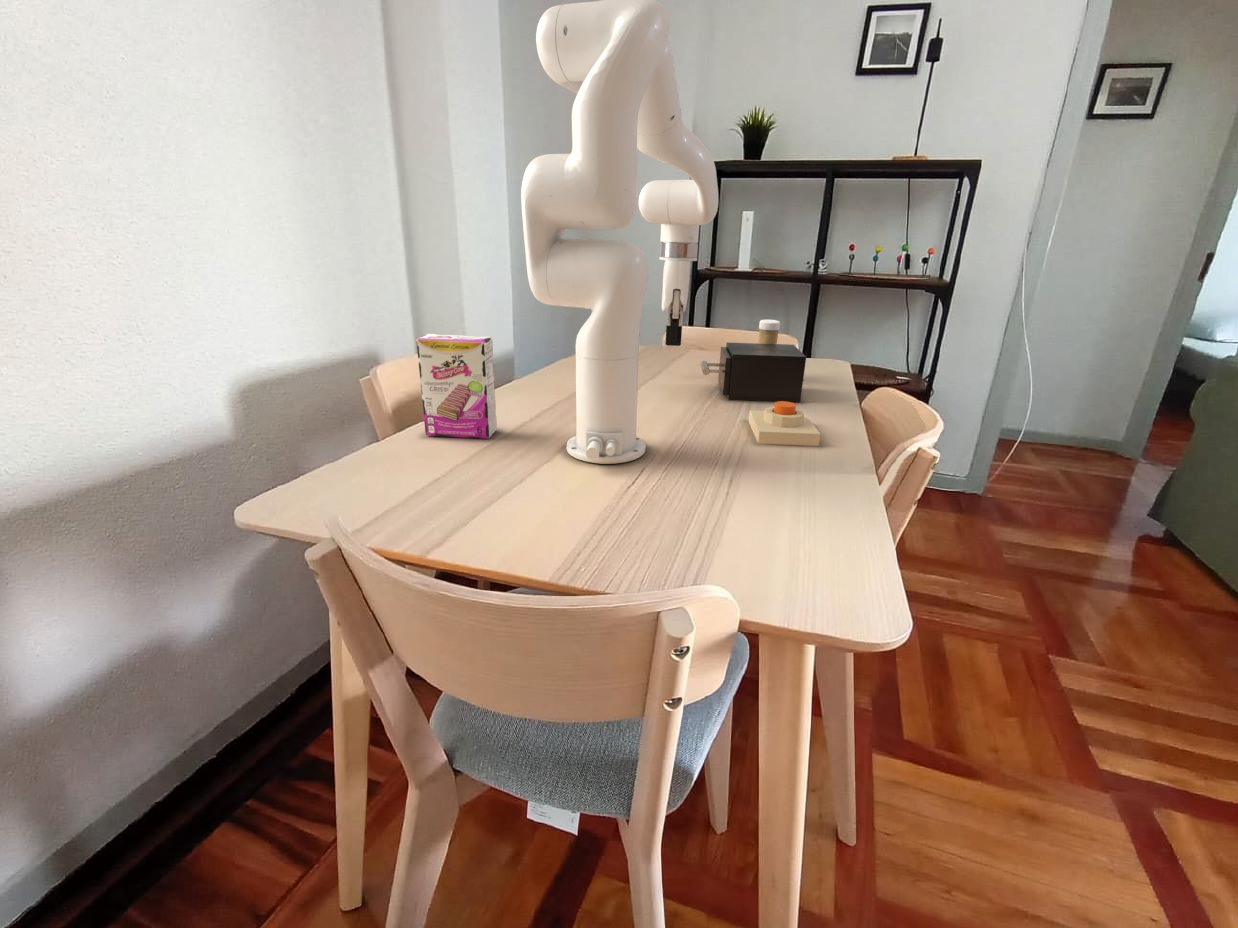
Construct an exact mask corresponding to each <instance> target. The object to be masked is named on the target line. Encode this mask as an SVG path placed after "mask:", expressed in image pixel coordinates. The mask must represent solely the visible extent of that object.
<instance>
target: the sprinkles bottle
mask: <svg viewBox="0 0 1238 928" xmlns="http://www.w3.org/2000/svg"><path fill="white" fill-rule="evenodd" d="M780 327H781V321H780V320H776V319H760V320H759V325H758V330H759V333H758V339H757V340H758V341H757V343H758V344H778V337H779V330H780V329H781V328H780Z"/></svg>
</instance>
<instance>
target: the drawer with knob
mask: <svg viewBox="0 0 1238 928" xmlns="http://www.w3.org/2000/svg"><path fill="white" fill-rule="evenodd" d="M731 363H732V358H731V356H730V354H729V352H728V350H727V348H726V346H721V347H720V354H719V363H718V362H708V361H706V360H702V361H701V362H700V368H701V371H702V374H703V375H705V376H708V375H709V374H718V378H717V382H718V386H719V388H720V391H721V394H722V396H727V395H729V385H730V374H731ZM710 367H718V369H711V368H710Z"/></svg>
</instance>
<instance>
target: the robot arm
mask: <svg viewBox="0 0 1238 928" xmlns="http://www.w3.org/2000/svg"><path fill="white" fill-rule="evenodd" d="M669 30H670V21H669V14H668V12H667V10H666V7H665V6H664V5H663V4H662V3H661V2H660V1H657V0H594V1H584V2H574V3H564V4H557V5H553V6H551V7H549V8H548V9H546V10H545V11H543V14H542V15H541V17H540V19H539V20H538V23H537V27H536V32H535V33H536V34H535V43H536V44H535V45H536V46H535V47H536V51H537V56H538V58H539V61H540V64H541V66H542V68H543V70H544V71H545V74H546V75H548V77H549V78H550V79H551V80H552V81H553V82H554V83H556V84H557V85H559V86H561V87H563V88H565V89H567V90H568V91H570V92H573V94H576V96H575V98H574V101H573V105H572V109H571V141H572V144H571V145H572V147H571V152H570V153H547V154H542V155H538V156H536V157H534V158H533V159H532V160H531V161H530V162H529V163H528V165H527V166H526V168H525V171H524V173H523V176H522V182H521V190H520V201H521V202H520V203H521V204H520V205H521V217H522V229H523V239H524V250H525V262H526V271H527V280H528V284H529V288H530V291H531V294H532V295H533V297H534V298H535V299H536V300H537V301H538V302H540V303H542V304H544V305H548V306H553V307H565V308H578V309H579V308H580V309H586V310H591V314H590V315H589V317H588V318H587V319H586V321H585V322H584V323H583V324H582V326H581V328H580V329H579V331H578V333H577V335H576V338H575V413H576V414H575V418H576V419H575V423H576V425H575V426H576V427H575V429H576V431H575V432H576V434H575V435H574V436H572V437H570V438H569V439H568V440H567V442H566V452H567V453H568V454H569V456H571V457H573V458H574V459H577V460H579V461H583V462H586V463H592V464H602V465H612V464H615V465H616V464H623V463H627V462H632V461H635V460H637V459H639V458H641V457H642V456H644V454H645V453H646V446H647V445H646V442H645V441H644V440H643V439H642V438H640V437H639V436H637V425H638V423H637V422H638V420H637V419H638V393H639V390H638V389H639V361H640V360H639V359H640V332H641V321H642V312H643V305H644V301H645V300H644V299H645V295H646V289H647V285H648V278H649V263H648V260H647V259H648V258H647V257H646V255H645V252H644V251H643V250H642V248H640V247H638V246H637V245H635V244H633V243H631V242H627V241H623V240H616V239H598V238H595V239H593V238H586V239H583V238H565V232H566V230H586V231H587V230H590V231H591V230H592V231H606V230H607V231H608V230H619V229H623V228H625V227H627V226H629V225H630V224H631V223H632V222H633V220H634V219H635V216H636V211H637V202H638V210H639V212H640V215H641V217H642V218H643V219H644V221H646V222H648V223H650V224H654V225H660V238H659V239H660V242H659V258H658V259H659V261H664V263H663V273H662V287H661V291H662V292H661V311H662V312H663V313H665V312H666V310H667V324H666V325H665V345H666V346H672V347H673V346H674V347H680V346H681V345H682V336H683V335H682V334H683V333H682V332H683V325H682V319H683V313H684V312H686V310H687V304H688V299H689V291H690V280H691V267H692V266H691V265H692V262H697V261H698V252H699V251H698V250H699V238H700V237H699V235H700V226H703V225H707V224H710V223H711V222H712V221H713V220H714V219H715V217H716V215H717V213H718V208H719V186H718V185H719V184H718V176H717V167H716V165H715V161H714V159H713V156H712V154H711V153H710V151H709V150H708V148H707V147H706V146H705V144H704V143H703V142H702V140H700V138H699V137H698V136H697V135H696V134H694V133H693V131H691V130H690V129H689V127H688V128H687V126H685V124H684V123H683V116H682V109H681V103H680V96H679V89H678V83H677V75H676V68H675V63H674V56H673V50H672V46H671V43H670V41H669ZM638 151H639V152H641V153H642V154H644V155H646V156H648V157H650V158H652V159H654V160H656V161H659V162H661V163H663V164H665V165H668V166H670V167H673V168H674V169H675V168H676V169H677V170H679V171H681V172H682V173H684V174H686V176H689V177H690V179H655V180H650V181H649V182H646V184H645V185H644V186H643V187H642V189H641V191H640V193H639V196H638Z"/></svg>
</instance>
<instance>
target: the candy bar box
mask: <svg viewBox="0 0 1238 928" xmlns="http://www.w3.org/2000/svg"><path fill="white" fill-rule="evenodd" d="M415 340H416V349H417V350H416V351H417V352H416V353H417V360H418V370H419V380H420V381H419V382H420V390H421V391H420V393H421V400H422V412H423V420H424V421H423V422H424V431H425V436H430V437H446V438H447V437H449V438H465V439H466V438H468V439H482V440H483V439H484V440H489V439H490V438H492V436H493V435H494V434H495V433H496V432H497V430H498V424H497V422H498V421H497V406H496V387H495V369H494V368H495V367H494V348H493V337H492V336H485V335H484V336H482V335H479V336H478V335H463V334H462V335H461V334H441V333H425V334H424V335H422V336H418V337H417V338H416V339H415Z"/></svg>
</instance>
